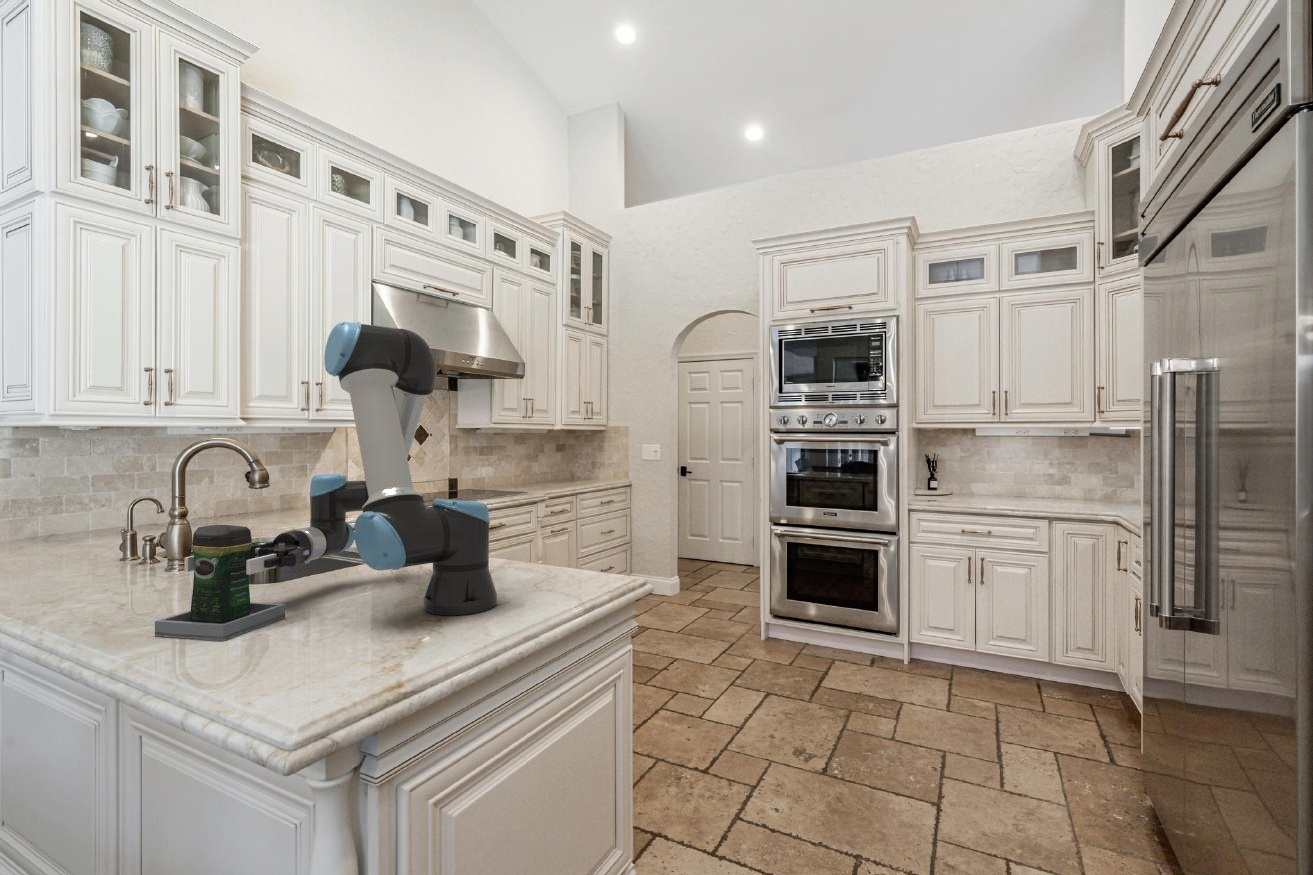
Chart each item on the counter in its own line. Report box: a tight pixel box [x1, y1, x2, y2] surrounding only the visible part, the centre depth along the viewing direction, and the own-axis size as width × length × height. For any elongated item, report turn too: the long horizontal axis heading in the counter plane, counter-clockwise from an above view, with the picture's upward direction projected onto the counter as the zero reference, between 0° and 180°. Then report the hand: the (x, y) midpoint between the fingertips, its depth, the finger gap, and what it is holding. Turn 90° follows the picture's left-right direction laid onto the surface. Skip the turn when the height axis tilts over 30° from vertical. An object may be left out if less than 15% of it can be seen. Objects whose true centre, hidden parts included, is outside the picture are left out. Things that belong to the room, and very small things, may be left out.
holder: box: [154, 601, 286, 642], centre depth 120 cm, size 15×15×3 cm
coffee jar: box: [190, 524, 253, 624], centre depth 121 cm, size 10×8×19 cm
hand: (216, 566), depth 118 cm, fingers open, 13 cm apart
